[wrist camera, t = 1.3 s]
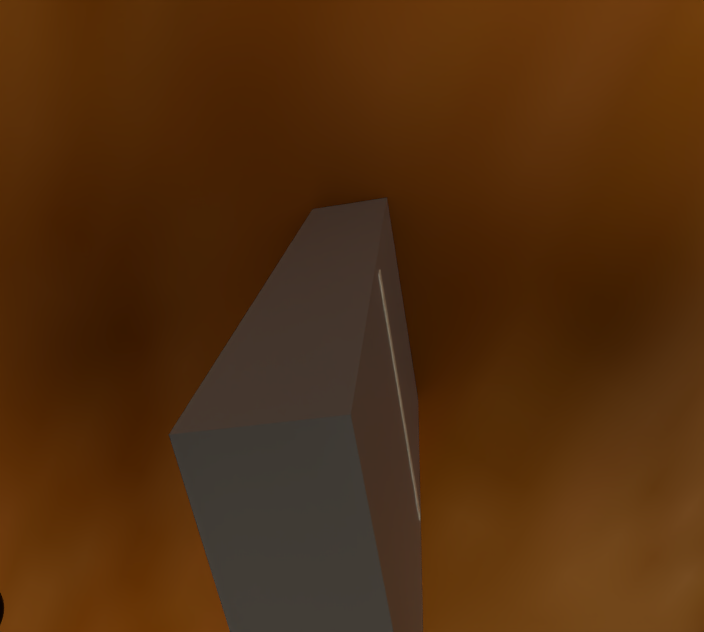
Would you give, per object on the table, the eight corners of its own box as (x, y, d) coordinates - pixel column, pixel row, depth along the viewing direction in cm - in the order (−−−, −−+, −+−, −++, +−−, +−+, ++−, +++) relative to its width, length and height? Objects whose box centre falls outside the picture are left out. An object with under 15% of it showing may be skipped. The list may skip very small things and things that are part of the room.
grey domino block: (387, 197, 14) (353, 413, 5) (418, 398, 16) (427, 799, 7) (311, 209, 14) (166, 435, 6) (350, 406, 16) (282, 803, 7)
